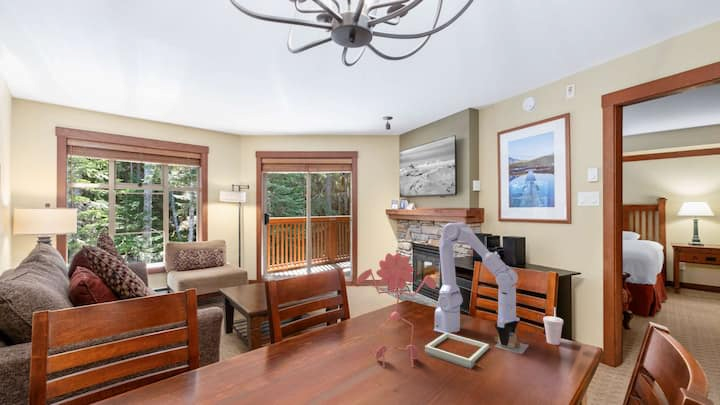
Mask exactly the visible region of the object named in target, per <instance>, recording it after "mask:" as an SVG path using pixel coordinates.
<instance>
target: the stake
mask: <svg viewBox="0 0 720 405" xmlns="http://www.w3.org/2000/svg"><path fill="white" fill-rule="evenodd" d="M510 336H511V337H512V336H513V334H511V333H510ZM510 336H509V337H510ZM528 347H529V344H524V343H521V342H520V348H517V347H515V348H507V347H503V346H501V345H500V344H498V342H496V344H495V345H494V348H499V349H502V350H505V351H509V352H513V353H516V354H519V355H522V354H524V352H525V351H526V350H527V349H528Z"/></svg>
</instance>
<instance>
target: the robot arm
mask: <svg viewBox="0 0 720 405" xmlns="http://www.w3.org/2000/svg"><path fill="white" fill-rule="evenodd" d="M441 230H442V231H441V235H440V237H439V240H438V247H439V257H440V258H439V259H440V271H441V282H442V285H441V288H440V290H439V291H438V293H439V296H438V299H437V303H438V307H437V308H435V311H434V328H433V331H434V332H438V333H441V334H445V333H450V334H452V333H457V332H460V330H461V305H462V303H463V302H464V299H463V295H462V294H461V291H460V287H459V286H458V285H457V276H456V265H455V264H456V263H455V255H454V254H455V253H454V245H455V244H457V242H465V243H466V244H468V245H469V246H470V247H471V248H472V249H473V250H474V251H475V252H476V253H477V254H478V256H480V257H481V260H482V261H481V262H482V265H484V266H485V267H486V269H488V271H489V272H490V273H491V274H492V275H493V277H495V282H496V284H497V286H498V297H497V298H498V303H497V306H498V307H497V309H498V313H497V322H495V323H494V328H495V329H496V331H497V335H498V334H499V338H500V342H501V344H502V345H505V346H507V345H508V342H509V336H510V332H512V333H514V334H515V335H516V329H517V327H518V325H519V323H520V317H518V316H517V291H516V290H517V287H516V286H517V282H518V281H519V275H518V273H517V272H516V270H515V269H513V268H510V266H509V265H506V263H505V262H503V260H502V259H501V256H500V254H498V253H496V252H490V251H489V249H488V247H486V246H485V245H484V244H483V242H482V241H481V240H480V239H479V238H478V236H477V235H476V234H475V233H474V231H473V230H472V227H469V226H468V224H467V223H466V222H464V221H458V222H449V223H447V224H445V226H443V227H442V228H441Z"/></svg>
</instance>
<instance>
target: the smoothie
mask: <svg viewBox="0 0 720 405" xmlns="http://www.w3.org/2000/svg"><path fill="white" fill-rule="evenodd" d="M556 309H557V307H555V306H553V316H552V315H551V316H550V315H546V316H543V318H542V321H543V324H544V330H545V331H544V332H545V339H546V343H547V344H551V345H552V346H553V345H557V346H558V345H560V343H561V337H562V329H563V325H564V319H562V318H560V317H557V310H556Z"/></svg>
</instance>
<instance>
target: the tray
mask: <svg viewBox="0 0 720 405" xmlns="http://www.w3.org/2000/svg"><path fill="white" fill-rule="evenodd" d="M446 339H451V340H455V341H458V342H463V343H465V344H468V345H472V346H476V347H479V349H478V350H477V351H475V352H474V353H473V354H472V355H471V356H470V357H464V356H462V355H458V354H456V353H452V352H448V351H445V350H442V349H439V348H436V346H437V345H439V344H440V343H441V342H443V341H445V340H446ZM488 349H490V345H489V343H485V342H482V341H478V340H476V339H472V338H468V337H464V336H461V335H456V334H453V333H445V334H444V333H442V334H441V335H440V336H438V337H437V338H435V339H433V341H431V342H429V343H427V344H426V345H424V354H425V355H428V356H431V357H434V358H437V359H440V360H442V361H446V362H449V363H452V364H455V365H457V366H461V367H464V368H467V369H472V368H473V367H474V366H475V365H476V364H477V360H478V359H479V358H480V357H481V356H482V355H483V354H484V353H485V352H487V351H488Z"/></svg>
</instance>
